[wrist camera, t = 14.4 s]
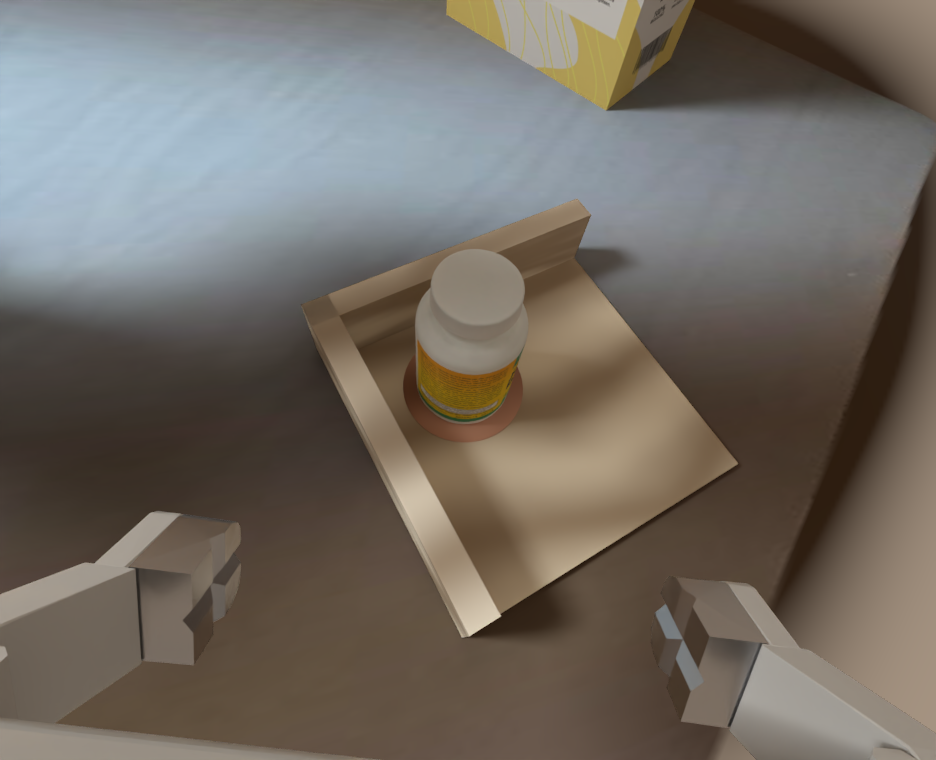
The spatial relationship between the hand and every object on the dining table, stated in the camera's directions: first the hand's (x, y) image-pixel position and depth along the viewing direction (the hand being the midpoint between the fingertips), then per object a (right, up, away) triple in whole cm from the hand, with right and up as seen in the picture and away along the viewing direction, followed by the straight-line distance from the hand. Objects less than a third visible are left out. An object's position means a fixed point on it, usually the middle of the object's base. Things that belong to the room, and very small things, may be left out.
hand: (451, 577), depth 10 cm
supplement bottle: (0, +3, +21) cm, 21 cm away
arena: (+3, +2, +21) cm, 21 cm away
